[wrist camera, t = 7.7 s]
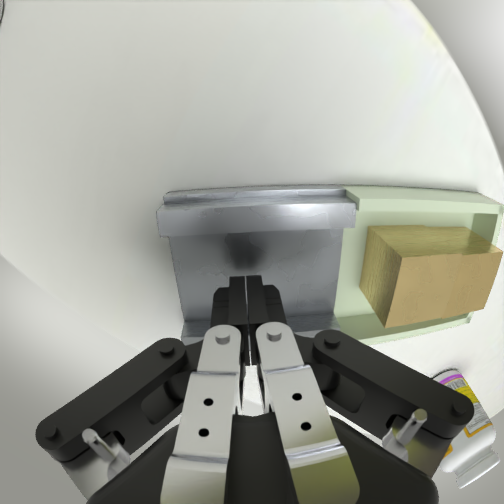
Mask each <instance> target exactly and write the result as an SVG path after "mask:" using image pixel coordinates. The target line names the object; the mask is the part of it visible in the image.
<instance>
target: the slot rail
mask: <svg viewBox="0 0 504 504" xmlns="http://www.w3.org/2000/svg"><path fill="white" fill-rule="evenodd" d="M163 198H164V204H163V205H162V206H161V207H160V208H159V209H158V211H157V212H156V215H157V222H158V228H159V234H160V237H169V240H170V247H171V253H172V259H173V264H174V270H175V276H176V281H177V286H178V292H179V297H180V302H181V307H182V311H183V316H184V325H183V330H182V334H181V340H182V342H183V343H184V345H189V344H193V343H197V342H199V341H201V340H203V339H204V336H205V334H206V332H207V331H208V330H209V329H210V323H211V314H212V304H213V295H214V293H215V292H216V290H217V289H218V288H220V287H229V277H231V276H245V290H246V306H247V322H248V339H249V351H251V349H250V335H249V320H248V304H247V285H246V276H249V275H261V276H262V282H263V285H274V286H275V287H276V288H277V289H278V290H279V292H280V296H281V300H282V304H283V309H284V313H285V317H286V321H287V325H288V326H289V327H290V329H291V330H292V332H293V333H295V334H297V335H299V336H303V337H310V338H314V337H315V335H316V334H317V333H319V332H320V331H323V330H327V329H334V330H338V331H340V325H339V323H338V321H337V319H336V316H335V314H334V306H335V299H336V292H337V285H338V277H339V269H340V260H341V250H342V240H343V229H344V228H355V221H356V210H357V203H356V202H355V201H353V200H352V199H351V198H349V197H348V196H346V189H345V188H344V187H342V186H341V185H283V186H254V187H233V188H216V189H202V190H189V191H177V192H168V193H167V194H166V195H165V196H164V197H163Z"/></svg>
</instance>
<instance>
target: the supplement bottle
mask: <svg viewBox="0 0 504 504" xmlns="http://www.w3.org/2000/svg"><path fill="white" fill-rule="evenodd" d="M433 380H435V381H437V382H439V383H441V384H443V385H445V386H447V387H449V388H451V389H453V390H455V391H457V392H460V393H462V394H464V395H465V396H467V397H468V398H469V399H470V400H471V401H472V403H473V405H474V416H473V418H472V420H471V421H470V422H469V423H468V424H467V425H466V427H465V428H464V429H463V430H462V431H461V432H460V433H459V434H458V435H457V436H456V437H455V438H454V440H453V441H452V442H451V444H450V446H449V448H448V450H447V452H446V454H445V456H444V457H443V459H442V461H441V463H440V465H439V467H440V468H441V470H442V471H444V472H455V474H456V475H457V478H456V479H457V481H456V482H457V484H458V486H459V488H463V487H464V486H466V485H468V484H470V483H471V482H473V481H474V480H476V479H477V478H479V477H480V476H482V475H483V474H485V473H486V472H487V471H489V470H490V469H491V468H492V467H494V466H495V465H496V464H498V463H499V462H500V459H499V457H498V454H497V453H495V452H494V451H493V450H492V447H491V445H492V443H493V441H494V439H495V437H496V430H495V428H494V426H493V424H492V423H491V421H490V419H489V417H488V416H487V414H486V412H485V411H484V409H483V407H482V406H481V404H480V402H479V401H478V399H477V397H476V396H475V394H474V393H473V391H472V390H471V388H470V387H469V385H468V383H467V382H466V380H465V379H464V378H463V376H462V375H461V374H460V373H459V372H458V371H455V370H451V371H447V372H444V373H442V374H440V375H438V376H437V377H435V378H434V379H433Z"/></svg>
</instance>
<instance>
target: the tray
mask: <svg viewBox="0 0 504 504" xmlns="http://www.w3.org/2000/svg"><path fill="white" fill-rule="evenodd" d="M341 186H342V187H344V188H345V189H346V196H348V197H349V198H351V199H352V200H353V201H355V202H356V203H357V210H356V221H355V228H344V229H343V240H342V250H341V260H340V269H339V277H338V285H337V292H336V299H335V306H334V314H335V316H336V319H337V321H338V323H339V325H340V331H341V332H343V333H345V334H347V335H349V336H350V337H352V338H354V339H356V340H358V341H360V342H362V343H364V344H365V345H373V344H379V343H384V342H390V341H395V340H400V339H405V338H410V337H414V336H419V335H423V334H428V333H432V332H436V331H440V330H444V329H448V328H452V327H456V326H459V325H463V324H466V323H469V322H470V320H471V318H472V315H473V313H474V311H473V312H469V313H465V314H461V315H457V316H453V317H449V318H444V319H441V318H437V319H432V320H428V321H423V322H418V323H412V324H407V325H401V326H396V327H390V328H384V327H383V325H382V323H381V322H380V320H379V318H378V317H377V315H376V313H375V312H374V310H373V309H372V307H371V305H370V304H369V302H368V301H367V299H366V298H365V296H364V294H363V293H362V291H361V290H360V288H359V284H360V279H361V272H362V266H363V260H364V253H365V246H366V238H367V230H368V226H381V225H425V226H426V227H467V228H469V229H470V230H472V231H473V232H475V233H476V234H478V235H480V236H481V237H483V238H484V239H486V240H487V241H489V242H490V243H491V244H493V245H494V246H496V243H497V239H498V235H499V231H500V227H501V222H502V217H503V212H504V205H503V204H501V203H499V202H497V201H495V200H493V199H491V198H489V197H487V196H484V195H482V194H480V193H476V192H467V191H456V190H444V189H431V188H415V187H396V186H367V185H341Z"/></svg>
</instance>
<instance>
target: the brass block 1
mask: <svg viewBox="0 0 504 504" xmlns="http://www.w3.org/2000/svg"><path fill="white" fill-rule="evenodd" d="M462 254H463V253H462V252H461V251H459V250H458V249H457V248H455V247H454V246H453V245H451V244H450V243H449V242H447V241H446V240H444V239H443V238H442V237H440V236H439V235H437V234H436V233H435V232H433V231H432V230H430V229H429V228H427V227H426V226H425V225H381V226H368V230H367V238H366V246H365V253H364V260H363V266H362V272H361V279H360V284H359V288H360V290H361V291H362V293H363V294H364V296H365V298H366V299H367V301H368V302H369V304H370V305H371V307H372V309H373V310H374V312H375V313H376V315H377V317H378V318H379V320H380V322H381V323H382V325H383V327H384V328H390V327H396V326H401V325H407V324H412V323H418V322H423V321H428V320H432V319H437V318H442V317H443V314H444V312H445V309H446V306H447V303H448V300H449V298H450V295H451V292H452V289H453V285H454V282H455V279H456V276H457V272H458V269H459V265H460V262H461V258H462Z"/></svg>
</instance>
